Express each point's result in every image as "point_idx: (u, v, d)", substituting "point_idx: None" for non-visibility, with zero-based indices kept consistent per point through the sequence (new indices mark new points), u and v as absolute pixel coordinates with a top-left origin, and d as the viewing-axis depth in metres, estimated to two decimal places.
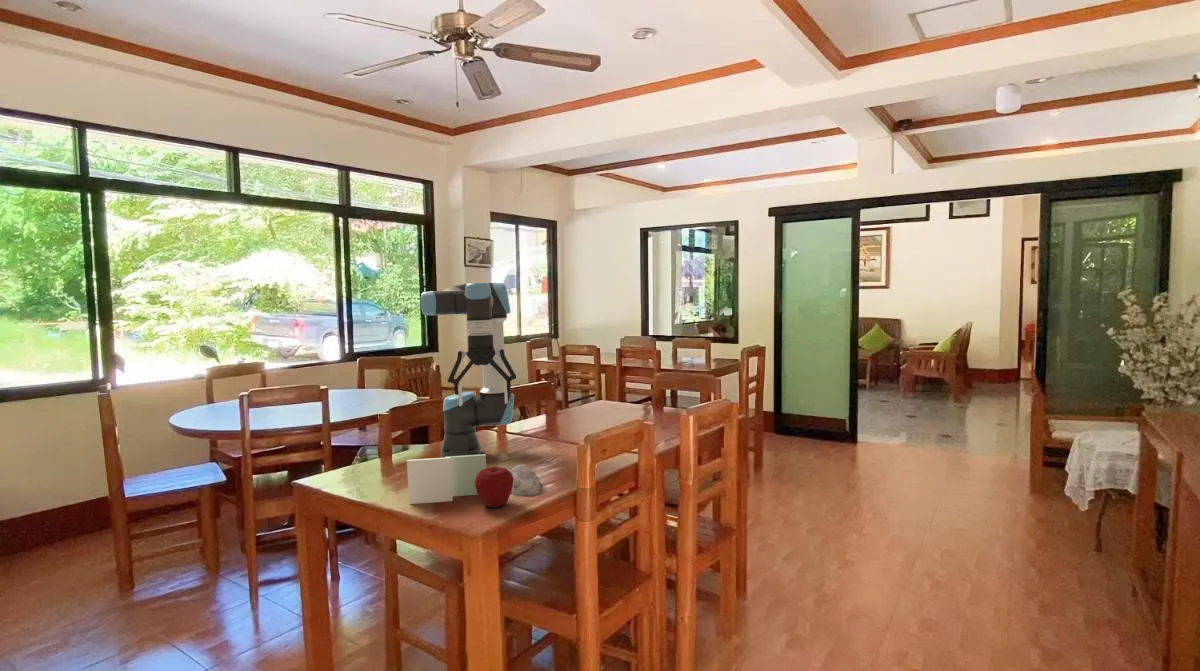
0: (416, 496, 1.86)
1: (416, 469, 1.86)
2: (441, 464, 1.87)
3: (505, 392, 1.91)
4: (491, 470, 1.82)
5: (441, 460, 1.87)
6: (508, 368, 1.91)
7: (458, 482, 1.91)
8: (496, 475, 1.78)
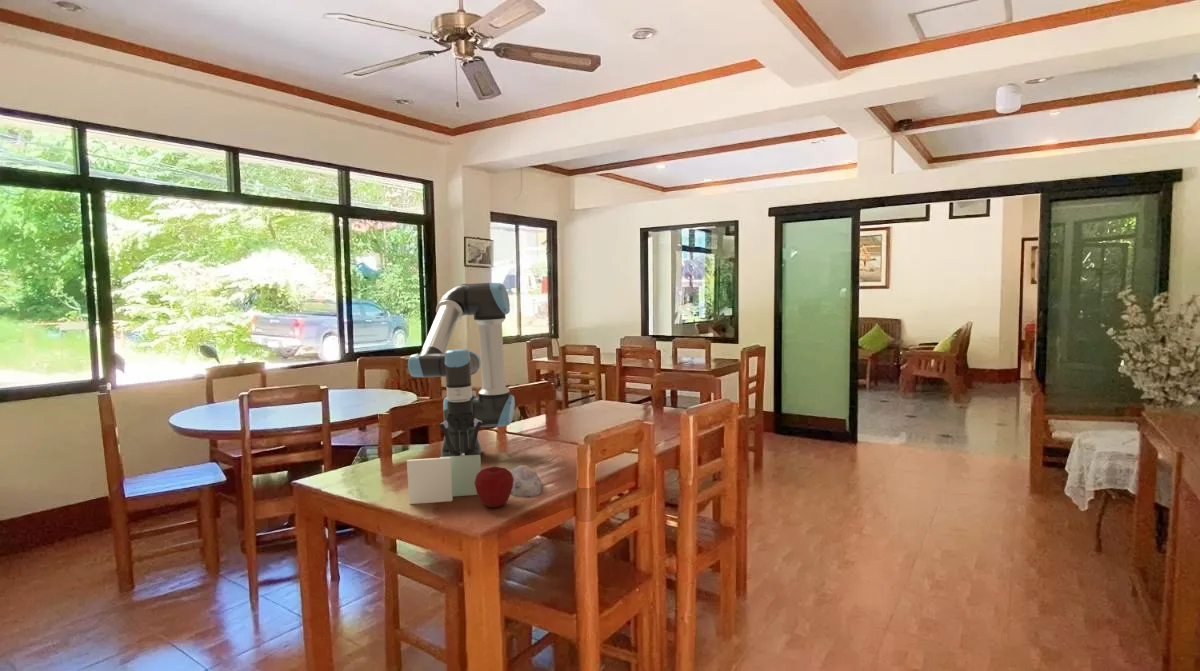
0: (416, 496, 1.86)
1: (416, 469, 1.86)
2: (441, 464, 1.87)
3: None
4: (491, 470, 1.82)
5: (441, 460, 1.87)
6: (473, 440, 1.94)
7: (452, 482, 1.91)
8: (496, 475, 1.78)
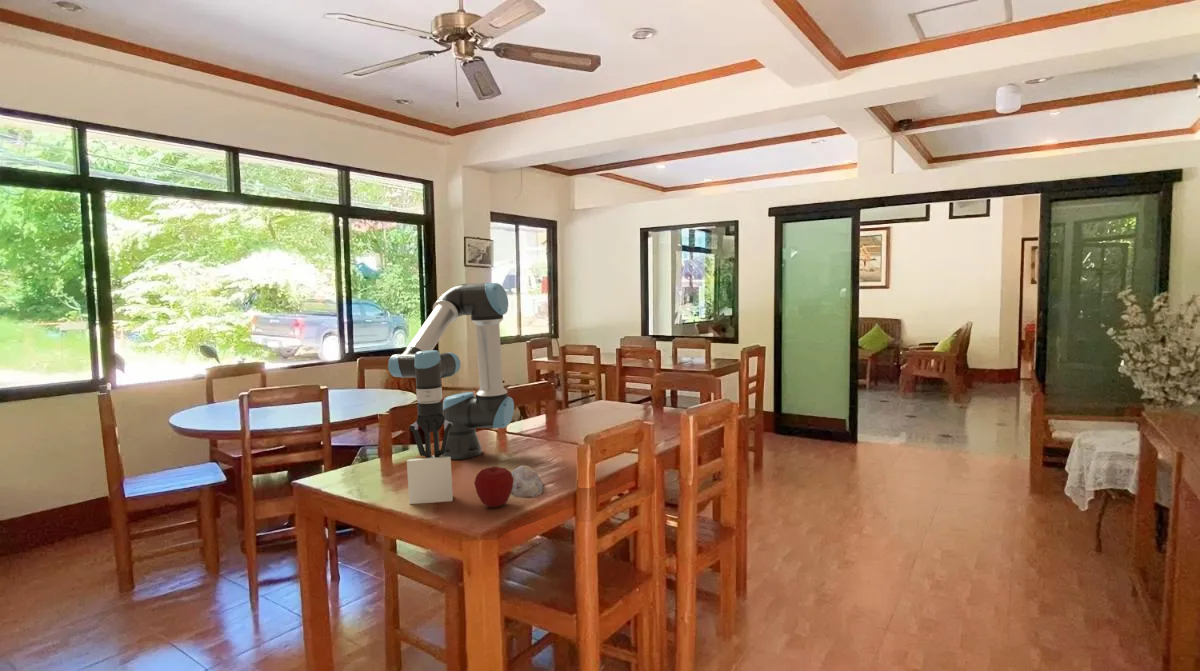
0: (416, 496, 1.86)
1: (416, 469, 1.86)
2: (441, 464, 1.87)
3: None
4: (491, 470, 1.82)
5: (441, 460, 1.87)
6: (443, 442, 1.93)
7: None
8: (496, 475, 1.78)
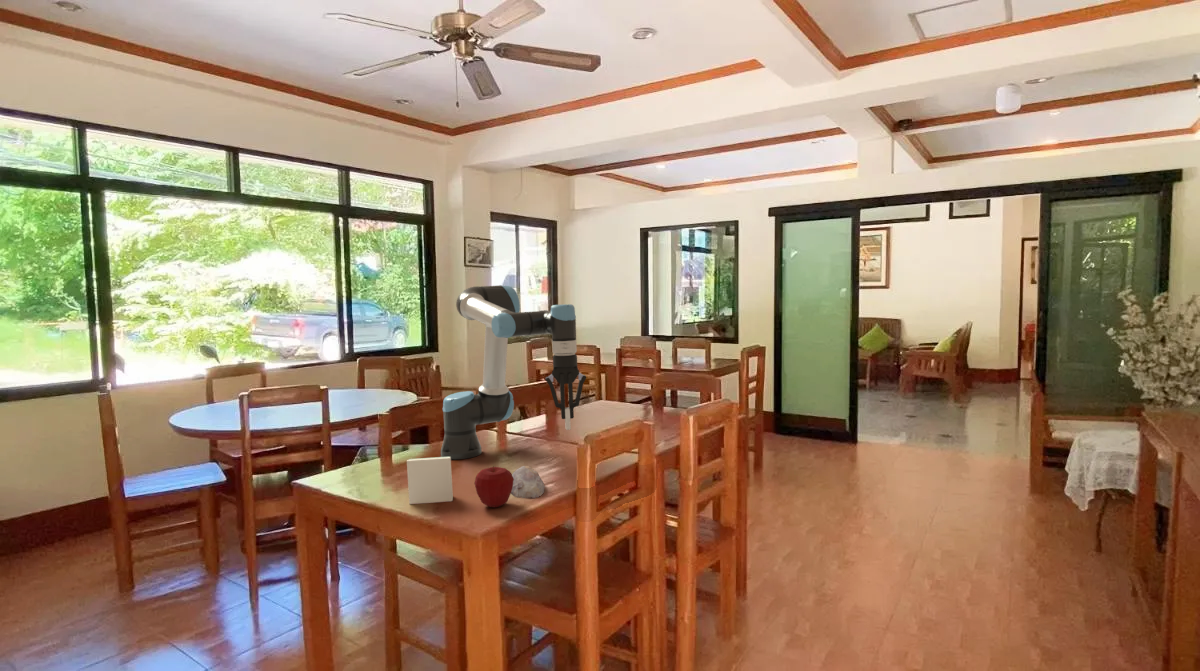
0: (416, 496, 1.86)
1: (416, 469, 1.86)
2: (441, 464, 1.87)
3: (568, 419, 1.97)
4: (491, 470, 1.82)
5: (441, 460, 1.87)
6: (578, 394, 1.97)
7: None
8: (496, 475, 1.78)
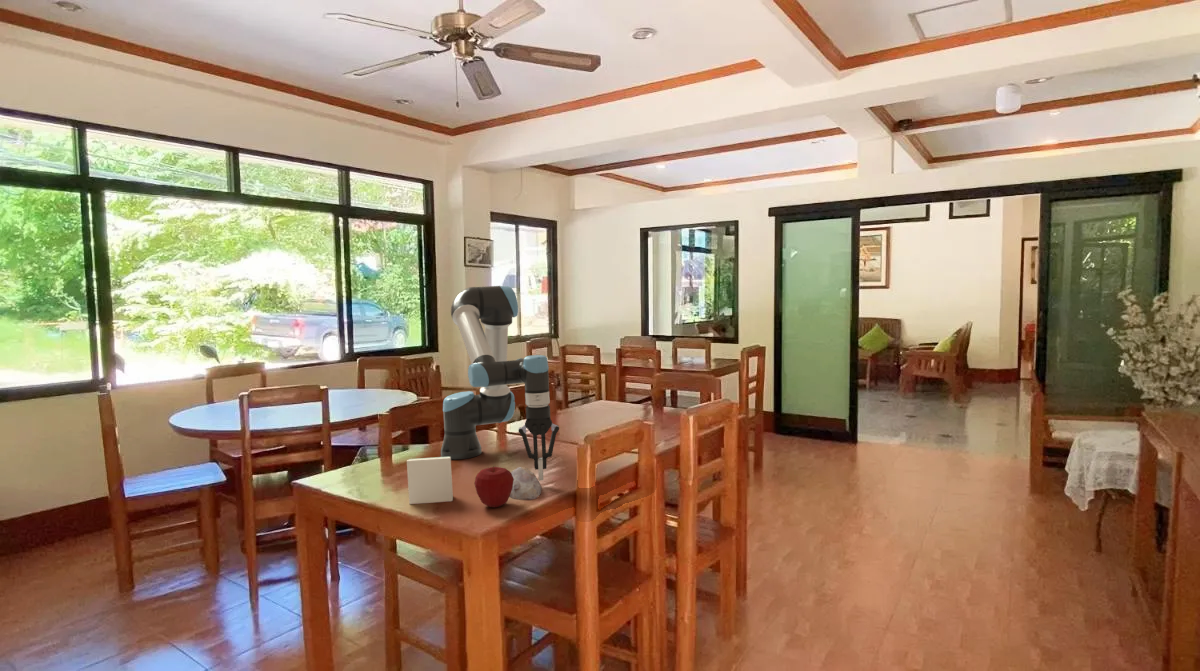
0: (416, 496, 1.86)
1: (416, 469, 1.86)
2: (441, 464, 1.87)
3: (541, 469, 1.97)
4: (491, 470, 1.82)
5: (441, 460, 1.87)
6: (551, 445, 1.97)
7: None
8: (496, 475, 1.78)
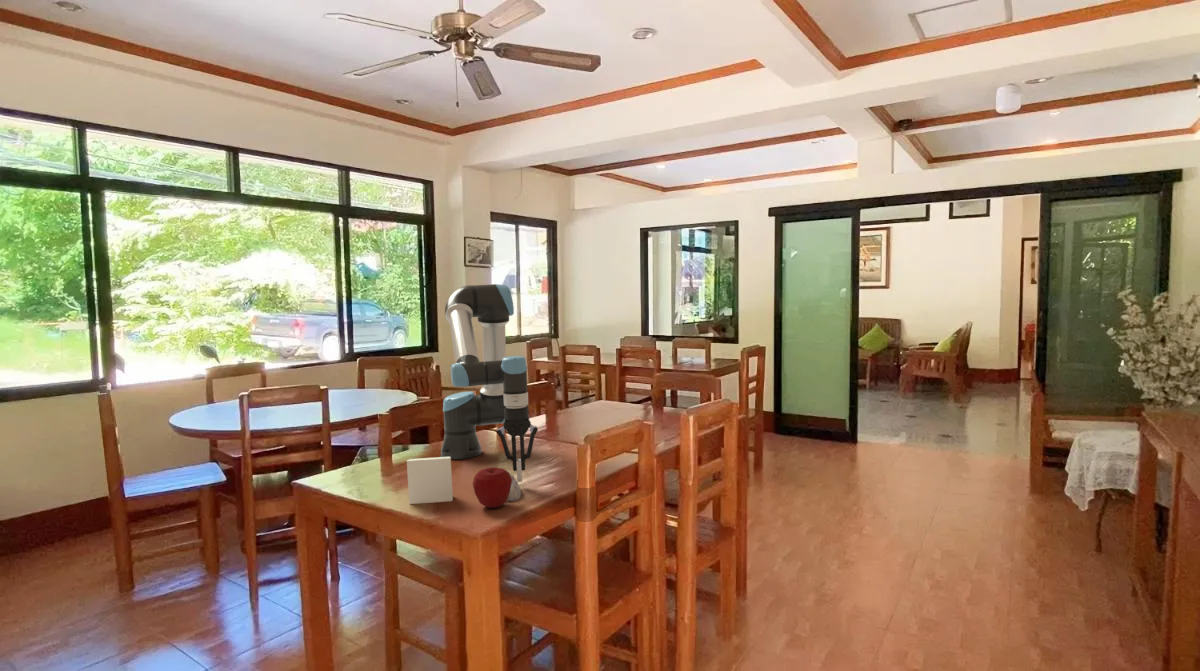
0: (416, 496, 1.86)
1: (416, 469, 1.86)
2: (441, 464, 1.87)
3: (520, 471, 1.96)
4: (489, 471, 1.82)
5: (441, 460, 1.87)
6: (530, 446, 1.96)
7: None
8: (495, 475, 1.78)
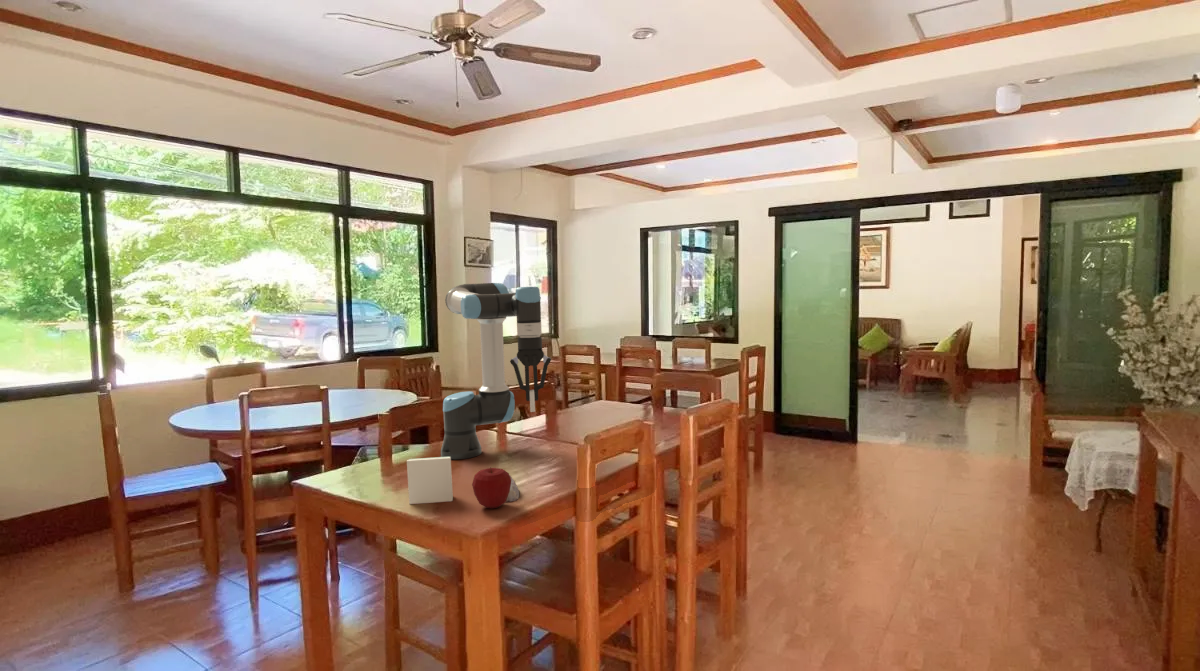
0: (416, 496, 1.86)
1: (416, 469, 1.86)
2: (441, 464, 1.87)
3: (533, 401, 1.97)
4: (488, 471, 1.82)
5: (441, 460, 1.87)
6: (543, 376, 1.97)
7: None
8: (495, 476, 1.77)
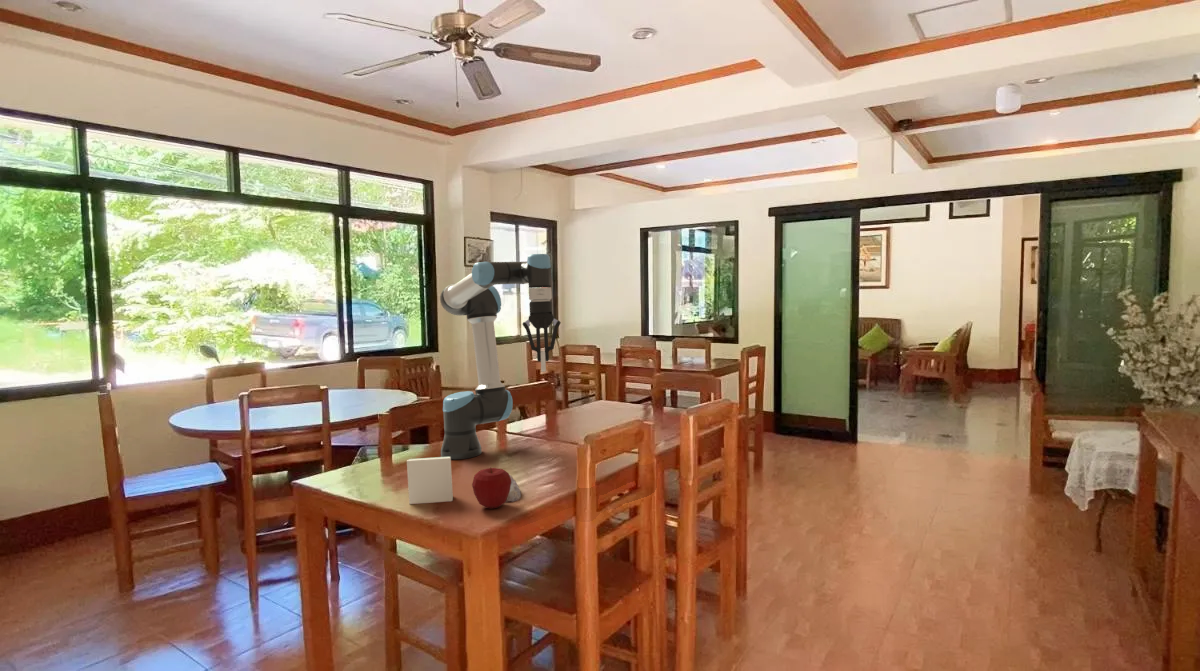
0: (416, 496, 1.86)
1: (416, 469, 1.86)
2: (441, 464, 1.87)
3: (544, 361, 2.11)
4: (488, 471, 1.82)
5: (441, 460, 1.87)
6: (553, 338, 2.11)
7: None
8: (495, 476, 1.77)
